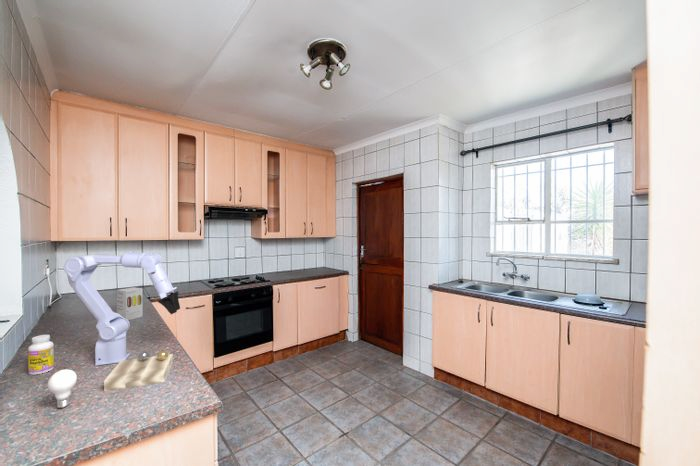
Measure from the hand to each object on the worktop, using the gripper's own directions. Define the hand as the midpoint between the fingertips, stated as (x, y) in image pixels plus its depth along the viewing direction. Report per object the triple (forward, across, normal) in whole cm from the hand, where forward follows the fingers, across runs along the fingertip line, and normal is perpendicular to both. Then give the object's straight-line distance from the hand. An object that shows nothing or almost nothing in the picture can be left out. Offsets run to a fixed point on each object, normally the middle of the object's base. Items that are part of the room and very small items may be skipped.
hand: (175, 311), depth 126 cm
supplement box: (-3, +70, +37) cm, 80 cm away
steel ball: (+9, -7, +14) cm, 18 cm away
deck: (+15, -12, +16) cm, 25 cm away
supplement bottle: (0, +5, +48) cm, 48 cm away
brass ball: (+12, -9, +8) cm, 17 cm away
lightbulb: (+10, -26, +31) cm, 42 cm away
